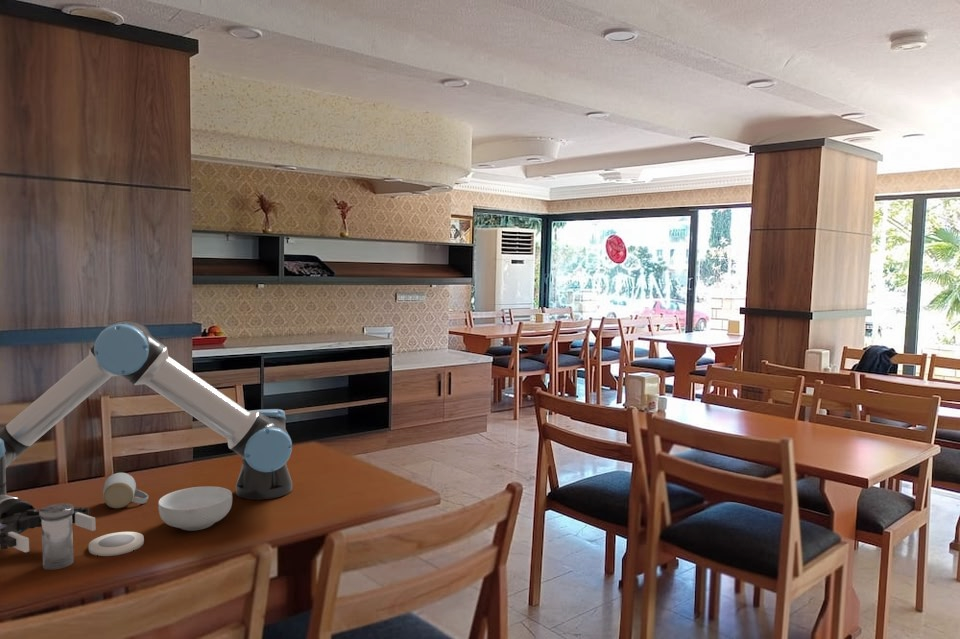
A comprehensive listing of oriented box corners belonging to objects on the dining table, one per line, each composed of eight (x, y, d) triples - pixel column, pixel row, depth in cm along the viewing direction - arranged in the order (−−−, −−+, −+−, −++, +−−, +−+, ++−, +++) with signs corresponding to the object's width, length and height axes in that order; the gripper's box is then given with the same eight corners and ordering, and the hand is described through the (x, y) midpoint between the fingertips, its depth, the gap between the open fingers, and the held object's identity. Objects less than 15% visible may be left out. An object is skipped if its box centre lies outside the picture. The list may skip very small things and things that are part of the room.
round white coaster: (152, 537, 164) (152, 531, 164) (128, 556, 153) (127, 550, 153) (106, 536, 164) (106, 530, 164) (78, 555, 153) (77, 549, 153)
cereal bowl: (182, 511, 182) (181, 484, 181) (244, 514, 180) (243, 487, 179) (144, 536, 165) (143, 506, 164) (212, 540, 163) (211, 510, 163)
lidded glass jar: (81, 558, 152) (79, 503, 151) (63, 570, 146) (61, 513, 145) (53, 557, 152) (51, 503, 151) (34, 570, 146) (32, 513, 145)
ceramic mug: (102, 511, 180) (102, 482, 180) (104, 501, 188) (103, 473, 187) (148, 506, 185) (148, 478, 184) (148, 497, 192) (148, 469, 192)
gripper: (66, 514, 169) (119, 532, 158) (-55, 550, 148) (-4, 573, 137) (65, 484, 169) (118, 500, 158) (-57, 515, 147) (-5, 536, 136)
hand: (61, 534), depth 147 cm, fingers open, 13 cm apart
